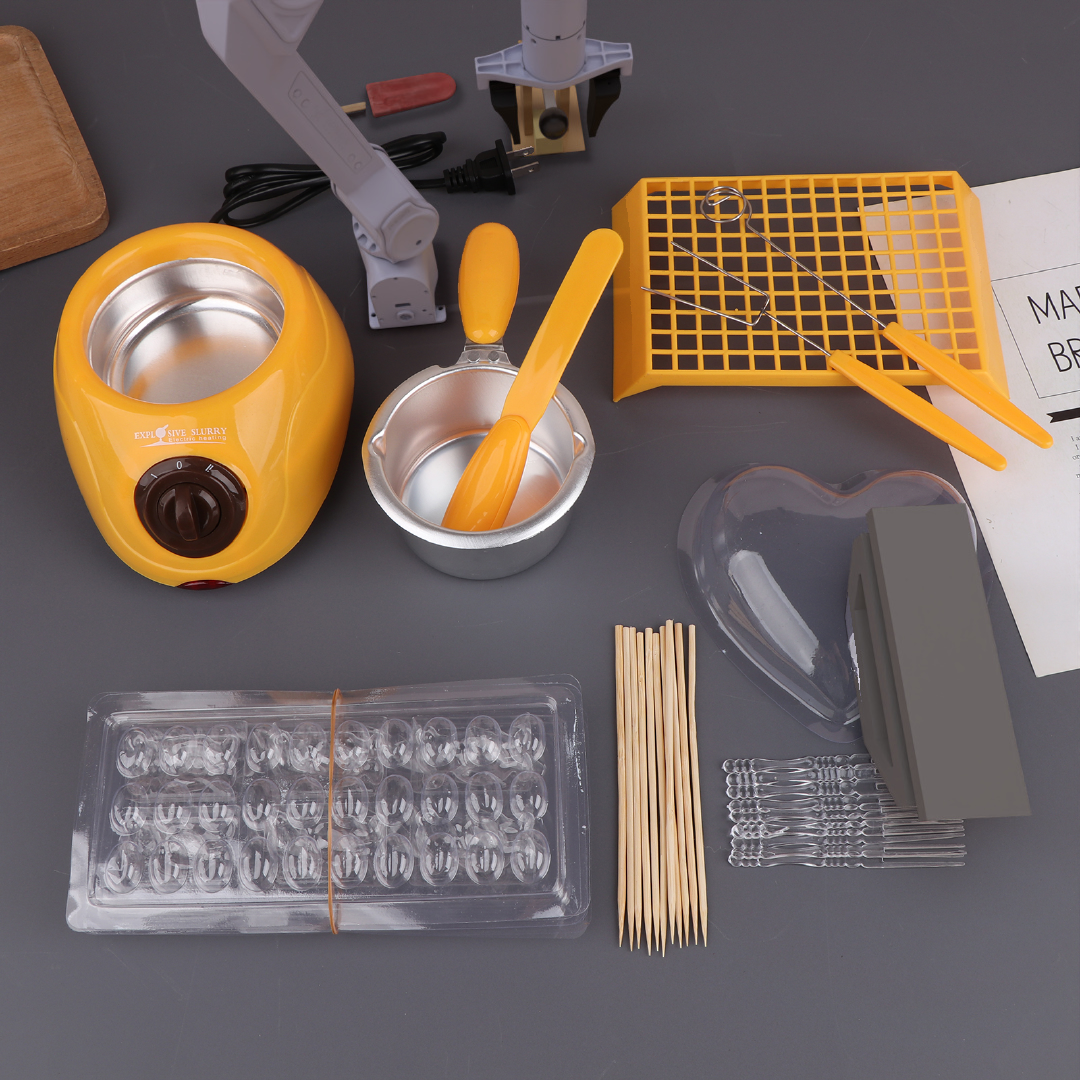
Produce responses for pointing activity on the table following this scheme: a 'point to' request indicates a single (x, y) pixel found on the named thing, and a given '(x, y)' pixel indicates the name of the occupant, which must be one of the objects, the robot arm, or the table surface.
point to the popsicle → (406, 93)
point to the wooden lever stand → (534, 100)
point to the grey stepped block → (931, 667)
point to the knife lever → (552, 118)
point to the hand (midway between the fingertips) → (553, 133)
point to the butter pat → (542, 142)
